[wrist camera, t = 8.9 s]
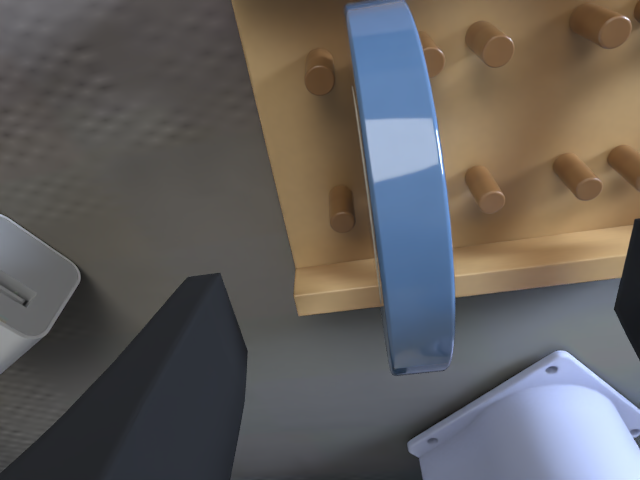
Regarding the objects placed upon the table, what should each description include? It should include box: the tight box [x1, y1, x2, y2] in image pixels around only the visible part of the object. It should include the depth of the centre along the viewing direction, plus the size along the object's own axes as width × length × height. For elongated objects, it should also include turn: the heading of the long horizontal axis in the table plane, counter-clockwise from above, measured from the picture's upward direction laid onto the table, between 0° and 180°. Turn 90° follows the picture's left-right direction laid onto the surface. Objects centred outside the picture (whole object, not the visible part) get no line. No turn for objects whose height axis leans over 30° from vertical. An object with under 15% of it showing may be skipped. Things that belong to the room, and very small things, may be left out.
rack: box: [231, 0, 640, 316], centre depth 14 cm, size 16×12×3 cm
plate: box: [342, 0, 456, 376], centre depth 12 cm, size 1×8×8 cm, turn 10°
